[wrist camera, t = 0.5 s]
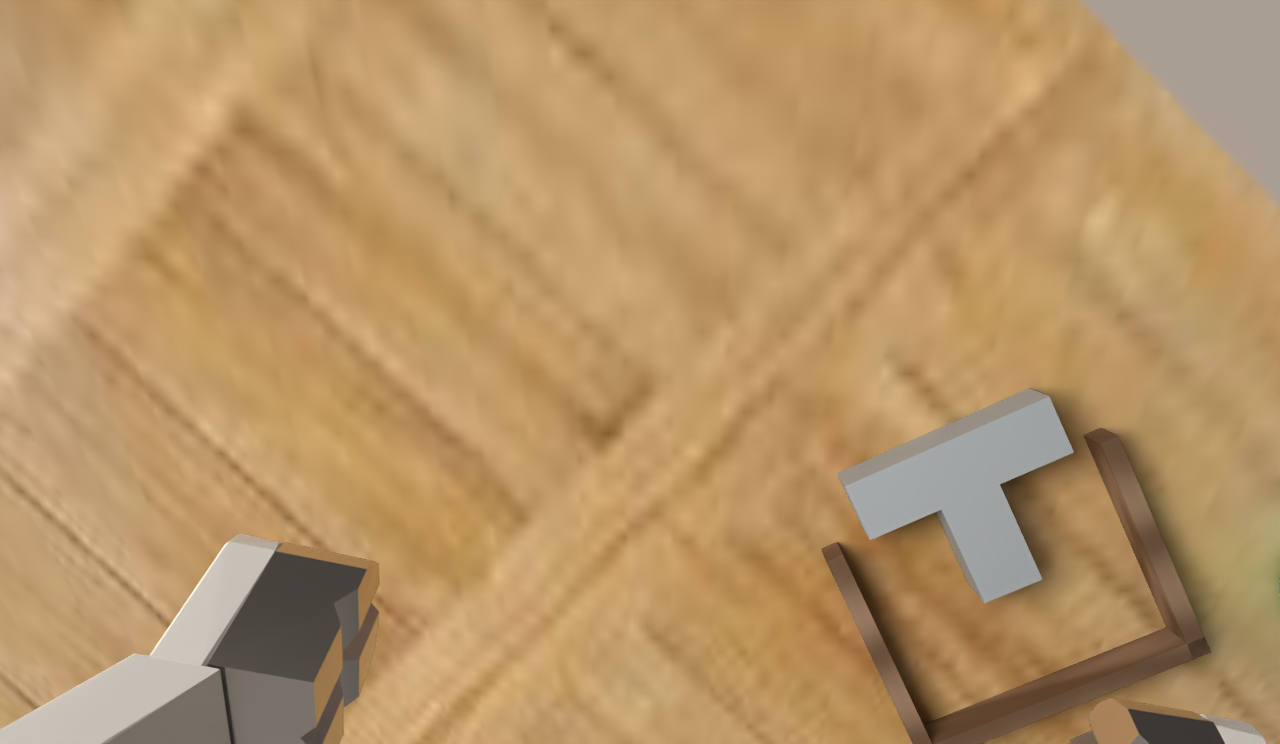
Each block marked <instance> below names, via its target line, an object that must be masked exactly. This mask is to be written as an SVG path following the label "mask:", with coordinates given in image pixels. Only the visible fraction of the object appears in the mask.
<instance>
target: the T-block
mask: <svg viewBox="0 0 1280 744" xmlns="http://www.w3.org/2000/svg"><path fill="white" fill-rule="evenodd" d="M1072 453H1074V451H1073V449H1072V447H1071V444H1070V442H1069V440H1068V438H1067V435H1066V433H1065V431H1064V428H1063V426H1062V424H1061V422H1060V419H1059V417H1058V415H1057V413H1056V410H1055V408H1054V406H1053V403H1052V401H1051V399H1050V397H1049V396H1047V395H1045V394H1042V393H1040V392H1037V391H1035V390H1032V389H1030V388H1029V389H1026V390H1024V391H1022V392H1020V393H1017V394H1015V395H1013V396H1011V397H1008V398H1006V399H1004V400H1001V401H999V402H997V403H995V404H992V405H990V406H988V407H986V408H983V409H981V410H979V411H977V412H974V413H972V414H970V415H968V416H965V417H963V418H961V419H959V420H956V421H954V422H952V423H950V424H947V425H945V426H943V427H941V428H938V429H936V430H934V431H932V432H929V433H927V434H925V435H922V436H920V437H918V438H916V439H913V440H911V441H909V442H907V443H904V444H902V445H900V446H898V447H895V448H893V449H891V450H889V451H886V452H884V453H882V454H880V455H877V456H875V457H873V458H871V459H868V460H866V461H864V462H862V463H859V464H857V465H855V466H853V467H850V468H848V469H846V470H843V471H841V472H839V473H837V475H838V477H839V479H840V481H841V484H842V486H843V488H844V490H845V492H846V494H847V496H848V499H849V501H850V503H851V505H852V507H853V509H854V511H855V514H856V516H857V518H858V520H859V522H860V524H861V526H862V528H863V529H864V531H865V533H866V534H867V536H868V538H869V539H870V540H872V539H874V538H877V537H879V536H881V535H884V534H886V533H888V532H890V531H893V530H895V529H897V528H900V527H902V526H904V525H907V524H909V523H911V522H914V521H916V520H918V519H921V518H923V517H925V516H928V515H930V514H932V513H935V512H936V514H937V516H938V518H939V521H940V523H941V525H942V527H943V529H944V532H945V534H946V536H947V538H948V540H949V542H950V545H951V547H952V549H953V551H954V553H955V556H956V558H957V560H958V562H959V564H960V566H961V569H962V571H963V573H964V575H965V577H966V579H967V582H968V584H969V585H970V586H971V587H972V589H973V590H974V591H975V592H976V594H977V595H978V596H979V597H980V599H981V600H982V601H983V602H984V603H987V602H989V601H992V600H994V599H997V598H999V597H1002V596H1004V595H1006V594H1009V593H1011V592H1014V591H1016V590H1018V589H1021V588H1023V587H1026V586H1028V585H1030V584H1033V583H1035V582H1038V581H1040V580H1043V579H1042V577H1041V575H1040V573H1039V570H1038V568H1037V566H1036V564H1035V562H1034V559H1033V557H1032V555H1031V553H1030V550H1029V548H1028V546H1027V544H1026V542H1025V539H1024V537H1023V535H1022V533H1021V530H1020V528H1019V526H1018V524H1017V522H1016V519H1015V517H1014V515H1013V513H1012V510H1011V508H1010V506H1009V504H1008V502H1007V499H1006V497H1005V495H1004V493H1003V490H1002V488H1001V486H1000V484H1002V483H1004V482H1007V481H1009V480H1011V479H1014V478H1016V477H1018V476H1021V475H1023V474H1025V473H1028V472H1030V471H1032V470H1034V469H1037V468H1039V467H1041V466H1044V465H1046V464H1048V463H1051V462H1053V461H1055V460H1058V459H1060V458H1062V457H1065V456H1067V455H1069V454H1072Z"/></svg>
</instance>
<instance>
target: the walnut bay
mask: <svg viewBox="0 0 1280 744" xmlns="http://www.w3.org/2000/svg"><path fill="white" fill-rule="evenodd" d="M1084 438H1085V440H1086V442H1087V444H1088V447H1089V449H1090V451H1091V454H1092V456H1093V458H1094V461H1095V463H1096V465H1097V468H1098V470H1099V472H1100V474H1101V477H1102V479H1103V481H1104V484H1105V486H1106V488H1107V491H1108V493H1109V495H1110V498H1111V500H1112V502H1113V505H1114V507H1115V509H1116V511H1117V514H1118V516H1119V518H1120V521H1121V523H1122V525H1123V528H1124V530H1125V532H1126V535H1127V537H1128V539H1129V542H1130V544H1131V546H1132V548H1133V551H1134V553H1135V555H1136V558H1137V560H1138V562H1139V565H1140V567H1141V569H1142V572H1143V574H1144V576H1145V578H1146V581H1147V583H1148V585H1149V588H1150V590H1151V592H1152V595H1153V597H1154V599H1155V602H1156V604H1157V606H1158V609H1159V611H1160V613H1161V615H1162V618H1163V620H1164V622H1165V625H1166V627H1167V628H1164V629H1162V630H1159V631H1157V632H1154V633H1152V634H1149V635H1147V636H1144V637H1142V638H1139V639H1137V640H1134V641H1132V642H1129V643H1127V644H1124V645H1122V646H1119V647H1117V648H1114V649H1112V650H1109V651H1107V652H1104V653H1102V654H1099V655H1097V656H1094V657H1092V658H1089V659H1087V660H1084V661H1082V662H1079V663H1077V664H1074V665H1072V666H1069V667H1067V668H1064V669H1062V670H1059V671H1057V672H1054V673H1052V674H1049V675H1047V676H1044V677H1042V678H1039V679H1037V680H1034V681H1032V682H1029V683H1027V684H1025V685H1022V686H1020V687H1017V688H1015V689H1012V690H1010V691H1007V692H1005V693H1002V694H1000V695H997V696H995V697H992V698H990V699H987V700H985V701H982V702H980V703H977V704H975V705H972V706H970V707H967V708H965V709H962V710H960V711H957V712H955V713H952V714H950V715H947V716H945V717H942V718H940V719H937V720H935V721H932V722H930V723H927V724H925V725H923V723H922V721H921V719H920V717H919V715H918V713H917V711H916V708H915V706H914V704H913V702H912V700H911V698H910V696H909V694H908V692H907V689H906V687H905V685H904V683H903V681H902V679H901V677H900V675H899V672H898V670H897V668H896V666H895V664H894V662H893V660H892V658H891V655H890V653H889V651H888V649H887V647H886V645H885V643H884V641H883V639H882V636H881V634H880V632H879V630H878V628H877V626H876V624H875V622H874V619H873V617H872V615H871V613H870V611H869V609H868V607H867V605H866V602H865V600H864V598H863V596H862V594H861V592H860V590H859V588H858V586H857V583H856V581H855V579H854V577H853V575H852V573H851V571H850V569H849V566H848V564H847V562H846V560H845V558H844V556H843V554H842V552H841V550H840V547H839V545H838V543H837V542H836V543H834V544H832V545H829V546H827V547H825V548H822V549H821V550H822V552H823V555H824V557H825V559H826V562H827V564H828V566H829V568H830V570H831V572H832V575H833V577H834V579H835V581H836V583H837V585H838V587H839V589H840V591H841V594H842V596H843V598H844V600H845V602H846V604H847V606H848V608H849V610H850V612H851V615H852V617H853V619H854V621H855V623H856V625H857V627H858V629H859V631H860V634H861V636H862V638H863V640H864V642H865V644H866V646H867V648H868V650H869V653H870V655H871V657H872V659H873V661H874V663H875V665H876V667H877V669H878V672H879V674H880V676H881V678H882V680H883V682H884V684H885V686H886V688H887V690H888V693H889V695H890V697H891V699H892V701H893V703H894V705H895V707H896V709H897V712H898V714H899V716H900V718H901V720H902V722H903V724H904V726H905V728H906V731H907V733H908V735H909V737H910V739H911V741H912V743H913V744H980V743H983V742H985V741H988V740H991V739H993V738H996V737H998V736H1001V735H1003V734H1006V733H1008V732H1011V731H1013V730H1016V729H1018V728H1021V727H1023V726H1026V725H1028V724H1031V723H1034V722H1036V721H1039V720H1041V719H1044V718H1046V717H1049V716H1051V715H1054V714H1056V713H1059V712H1061V711H1064V710H1066V709H1069V708H1072V707H1074V706H1077V705H1079V704H1082V703H1084V702H1087V701H1089V700H1092V699H1094V698H1097V697H1099V696H1102V695H1104V694H1107V693H1110V692H1112V691H1115V690H1117V689H1120V688H1122V687H1125V686H1127V685H1130V684H1132V683H1135V682H1137V681H1140V680H1142V679H1145V678H1148V677H1150V676H1153V675H1155V674H1158V673H1160V672H1163V671H1165V670H1168V669H1170V668H1173V667H1175V666H1178V665H1180V664H1183V663H1186V662H1188V661H1191V660H1193V659H1196V658H1198V657H1201V656H1203V655H1206V654H1208V653H1211V651H1210V649H1209V646H1208V644H1207V642H1206V639H1205V637H1204V635H1203V632H1202V630H1201V628H1200V625H1199V623H1198V621H1197V618H1196V616H1195V614H1194V611H1193V609H1192V607H1191V604H1190V602H1189V600H1188V597H1187V595H1186V593H1185V590H1184V588H1183V586H1182V583H1181V581H1180V579H1179V576H1178V574H1177V572H1176V569H1175V567H1174V565H1173V562H1172V560H1171V558H1170V555H1169V553H1168V551H1167V548H1166V546H1165V544H1164V541H1163V539H1162V537H1161V534H1160V532H1159V530H1158V527H1157V525H1156V523H1155V520H1154V518H1153V516H1152V513H1151V511H1150V508H1149V506H1148V504H1147V501H1146V499H1145V497H1144V494H1143V492H1142V490H1141V487H1140V485H1139V483H1138V480H1137V478H1136V476H1135V473H1134V471H1133V469H1132V466H1131V464H1130V462H1129V459H1128V457H1127V455H1126V452H1125V450H1124V448H1123V445H1122V443H1121V441H1120V438H1119V436H1117V435H1115V434H1113V433H1111V432H1108V431H1106V430H1104V429H1102V428H1099V429H1097V430H1095V431H1093V432H1090V433H1088V434H1086V435H1084Z"/></svg>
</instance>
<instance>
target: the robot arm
mask: <svg viewBox="0 0 1280 744" xmlns="http://www.w3.org/2000/svg"><path fill="white" fill-rule="evenodd" d="M378 586H379V563H377V562H375V561H371V560H366V559H362V558H357V557H352V556H348V555H343V554H338V553H334V552H329V551H324V550H320V549H315V548H310V547H306V546H301V545H296V544H292V543H287V542H280V541H275V540H270V539H265V538H261V537H256V536H251V535H246V534H241V533H239V534H237V535H236V536H235V537H234V538H232V539H231V540H230V541H228V542H227V543H226V544H225V545H224V547H223V548H222V550H221V551H220V552H219V554H218V555H217V557H216V558H215V560H214V561H213V563H212V564H211V566H210V567H209V569H208V570H207V572H206V573H205V575H204V576H203V577H202V579H201V580H200V582H199V583H198V585H197V586H196V588H195V589H194V591H193V592H192V594H191V595H190V597H189V598H188V600H187V601H186V602H185V604H184V605H183V607H182V608H181V610H180V611H179V613H178V614H177V616H176V617H175V619H174V620H173V622H172V623H171V625H170V626H169V627H168V629H167V630H166V632H165V633H164V635H163V636H162V638H161V639H160V641H159V642H158V644H157V645H156V647H155V648H154V650H153V651H152V652H151V654H150V655H143V654H136V653H134V654H133V655H131V656H129V657H127V658H125V659H124V660H122V661H120V662H118V663H117V664H115V665H113V666H111V667H110V668H108V669H106V670H104V671H103V672H101V673H99V674H97V675H95V676H94V677H92V678H90V679H88V680H87V681H85V682H83V683H81V684H80V685H78V686H76V687H74V688H73V689H71V690H69V691H67V692H65V693H64V694H62V695H60V696H58V697H57V698H55V699H53V700H51V701H50V702H48V703H46V704H44V705H43V706H41V707H39V708H37V709H35V710H34V711H32V712H30V713H28V714H27V715H25V716H23V717H21V718H20V719H18V720H16V721H14V722H13V723H11V724H9V725H7V726H5V727H4V728H2V729H0V744H340V741H341V739H342V737H343V734H344V707H345V706H346V705H348V704H349V703H351V702H352V701H353V700H355V699H356V698H358V697H359V695H360V693H361V690H362V688H363V685H364V682H365V680H366V677H367V675H368V672H369V668H370V665H371V661H372V658H373V654H374V651H375V647H376V641H377V635H378V628H379V611H378V610H377V609H376V608H375V606H374V605H373V604H372V600H373V598H374V596H375V593H376V591H377V589H378ZM1088 719H1089V722H1090V725H1091V729H1092V731H1089V732H1087V733H1085V734H1082V735H1080V736H1078V737H1075V738H1073V739H1071V740H1069V742H1068V743H1067V744H1266V742H1265V740H1264V738H1263V737H1262V736H1261V734H1260V733H1259V732H1258V731H1257V730H1256V729H1254V728H1253V727H1252V726H1251V725H1250V724H1249V723H1247V722H1241V721H1236V720H1231V719H1225V718H1220V717H1214V716H1209V715H1204V714H1196V713H1194V712H1191V711H1185V710H1179V709H1174V708H1168V707H1162V706H1156V705H1151V704H1145V703H1139V702H1133V701H1128V700H1122V699H1116V698H1110V699H1107V700H1104V701H1102V702H1099V703H1098V704H1097V705H1096V707H1095V708H1094V709H1093V710H1092V712H1091V713H1090V714H1089V715H1088Z"/></svg>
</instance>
